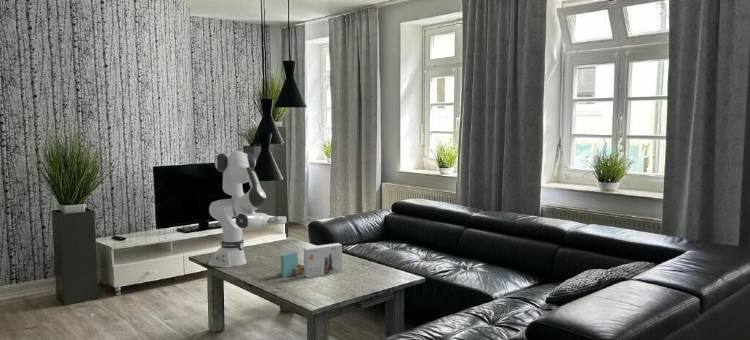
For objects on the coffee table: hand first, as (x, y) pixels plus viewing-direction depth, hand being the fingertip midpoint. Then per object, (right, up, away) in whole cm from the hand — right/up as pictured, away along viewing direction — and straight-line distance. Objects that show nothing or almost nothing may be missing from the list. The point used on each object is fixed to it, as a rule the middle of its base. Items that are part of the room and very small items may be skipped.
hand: (276, 222), depth 310 cm
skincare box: (+25, -29, +8) cm, 39 cm away
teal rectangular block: (+6, -30, +8) cm, 31 cm away
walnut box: (+9, -29, +11) cm, 32 cm away
